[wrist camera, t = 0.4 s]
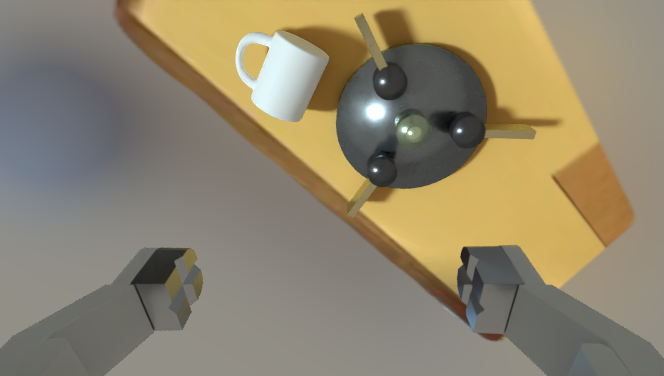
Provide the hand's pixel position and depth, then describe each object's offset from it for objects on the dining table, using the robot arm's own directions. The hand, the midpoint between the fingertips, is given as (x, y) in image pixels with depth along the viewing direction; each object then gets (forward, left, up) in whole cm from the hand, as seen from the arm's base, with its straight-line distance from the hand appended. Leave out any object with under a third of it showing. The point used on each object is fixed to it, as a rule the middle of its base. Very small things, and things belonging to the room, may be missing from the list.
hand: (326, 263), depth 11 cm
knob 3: (+10, +22, -44) cm, 50 cm away
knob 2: (+20, +5, -44) cm, 49 cm away
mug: (+2, -10, -47) cm, 48 cm away
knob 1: (0, +4, -44) cm, 44 cm away
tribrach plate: (+10, +10, -46) cm, 48 cm away
